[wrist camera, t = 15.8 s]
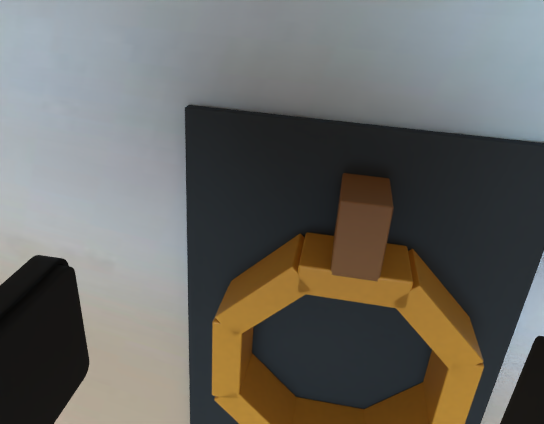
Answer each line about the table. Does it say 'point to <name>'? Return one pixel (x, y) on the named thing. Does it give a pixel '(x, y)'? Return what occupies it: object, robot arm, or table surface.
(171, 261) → the table surface
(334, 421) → the ring
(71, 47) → the table surface
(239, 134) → the mat
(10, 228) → the table surface
